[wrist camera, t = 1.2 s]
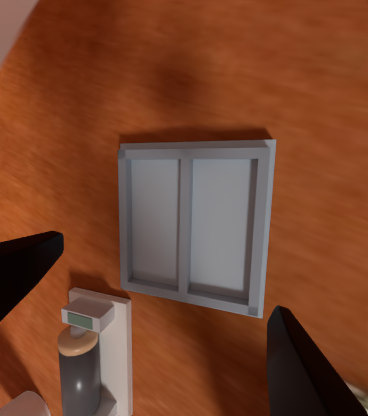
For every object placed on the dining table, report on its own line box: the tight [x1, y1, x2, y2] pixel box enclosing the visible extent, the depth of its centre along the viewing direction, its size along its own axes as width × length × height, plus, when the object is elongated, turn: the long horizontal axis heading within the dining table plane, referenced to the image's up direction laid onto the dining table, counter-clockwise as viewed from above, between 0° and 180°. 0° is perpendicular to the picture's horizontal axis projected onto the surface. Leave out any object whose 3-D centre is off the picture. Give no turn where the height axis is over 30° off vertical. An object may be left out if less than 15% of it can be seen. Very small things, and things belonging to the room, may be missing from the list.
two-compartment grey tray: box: [118, 140, 276, 318], centre depth 21 cm, size 15×14×2 cm
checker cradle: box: [61, 287, 133, 416], centre depth 27 cm, size 15×8×4 cm, turn 179°
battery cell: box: [58, 325, 101, 416], centre depth 26 cm, size 10×4×4 cm, turn 179°
